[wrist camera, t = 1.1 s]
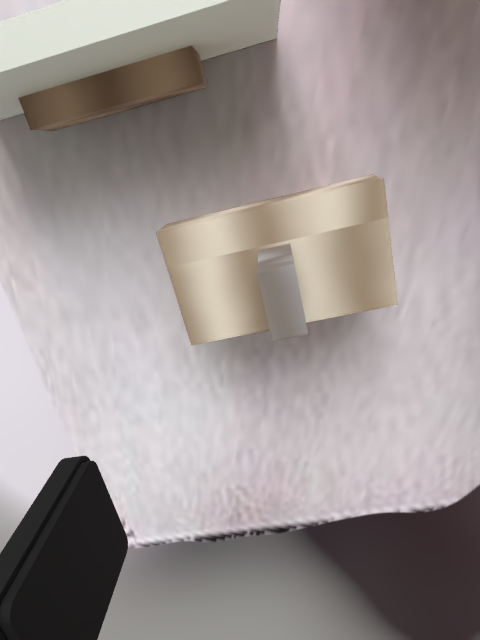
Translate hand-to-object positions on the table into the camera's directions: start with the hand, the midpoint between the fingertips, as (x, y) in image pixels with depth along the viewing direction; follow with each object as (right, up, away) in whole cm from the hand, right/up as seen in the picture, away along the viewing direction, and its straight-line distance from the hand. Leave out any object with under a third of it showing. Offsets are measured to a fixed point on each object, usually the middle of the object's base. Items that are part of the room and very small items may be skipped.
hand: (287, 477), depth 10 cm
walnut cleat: (-10, +20, +21) cm, 30 cm away
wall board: (-10, +23, +22) cm, 33 cm away
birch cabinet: (+2, +11, +26) cm, 29 cm away
